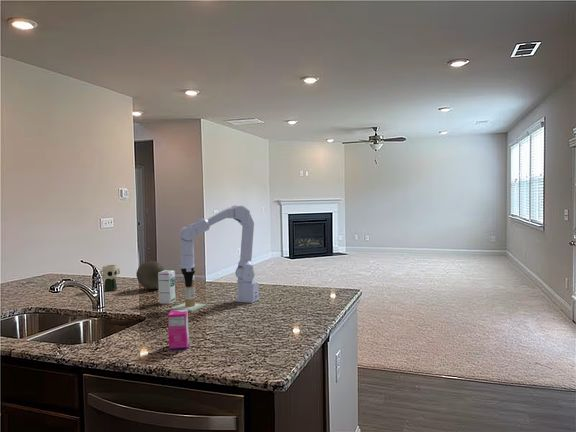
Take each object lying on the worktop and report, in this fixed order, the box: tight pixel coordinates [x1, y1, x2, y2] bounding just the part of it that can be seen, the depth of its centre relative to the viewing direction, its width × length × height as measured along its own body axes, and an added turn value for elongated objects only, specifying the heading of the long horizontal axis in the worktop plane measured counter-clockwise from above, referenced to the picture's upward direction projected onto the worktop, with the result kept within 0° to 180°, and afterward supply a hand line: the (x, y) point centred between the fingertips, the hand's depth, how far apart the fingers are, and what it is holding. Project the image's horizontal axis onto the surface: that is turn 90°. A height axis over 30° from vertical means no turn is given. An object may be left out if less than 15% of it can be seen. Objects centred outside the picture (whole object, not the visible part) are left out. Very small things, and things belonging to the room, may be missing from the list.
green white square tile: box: [170, 302, 207, 312], centre depth 197 cm, size 11×11×1 cm
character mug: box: [99, 264, 121, 291], centre depth 236 cm, size 11×7×13 cm, turn 139°
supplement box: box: [167, 309, 190, 351], centre depth 145 cm, size 6×6×12 cm
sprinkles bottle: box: [183, 274, 196, 307], centre depth 196 cm, size 5×5×14 cm
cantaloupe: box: [135, 260, 165, 290], centre depth 236 cm, size 14×14×15 cm
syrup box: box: [158, 269, 177, 305], centre depth 206 cm, size 6×6×14 cm
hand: (188, 285), depth 196 cm, fingers open, 4 cm apart
